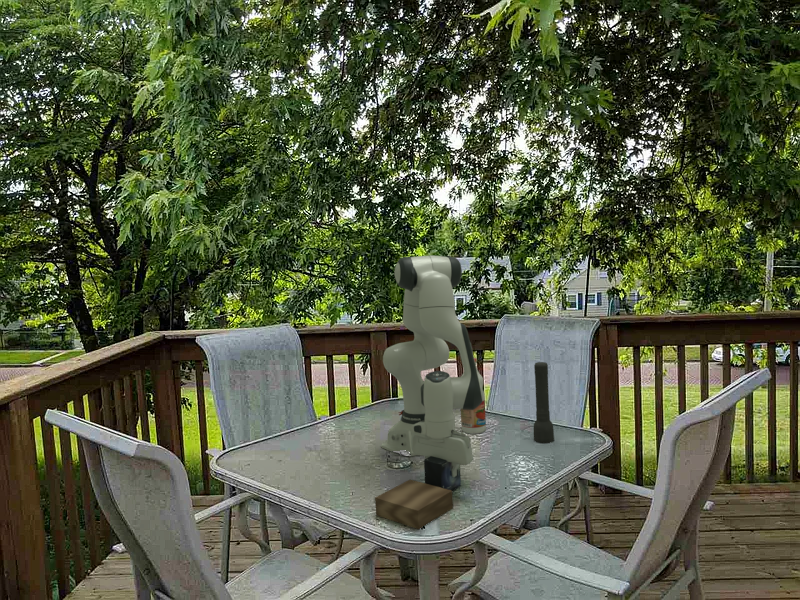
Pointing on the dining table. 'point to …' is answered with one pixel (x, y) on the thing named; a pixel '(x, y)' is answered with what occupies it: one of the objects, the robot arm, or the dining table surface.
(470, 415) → the fruit juice
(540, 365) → the flashlight
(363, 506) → the dining table surface
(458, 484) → the small box
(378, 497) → the stand
